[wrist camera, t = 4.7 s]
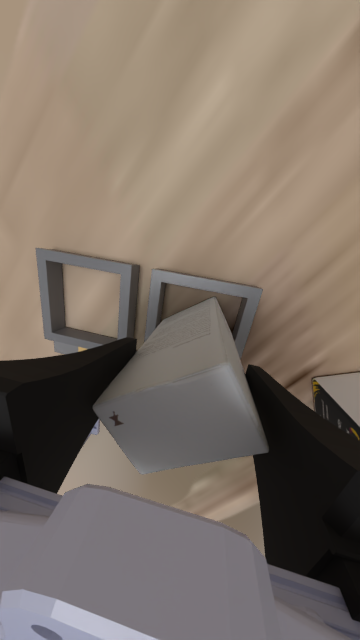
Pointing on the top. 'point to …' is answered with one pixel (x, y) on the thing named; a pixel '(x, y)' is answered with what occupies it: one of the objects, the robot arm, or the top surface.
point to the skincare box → (183, 396)
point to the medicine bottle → (339, 401)
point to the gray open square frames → (127, 299)
